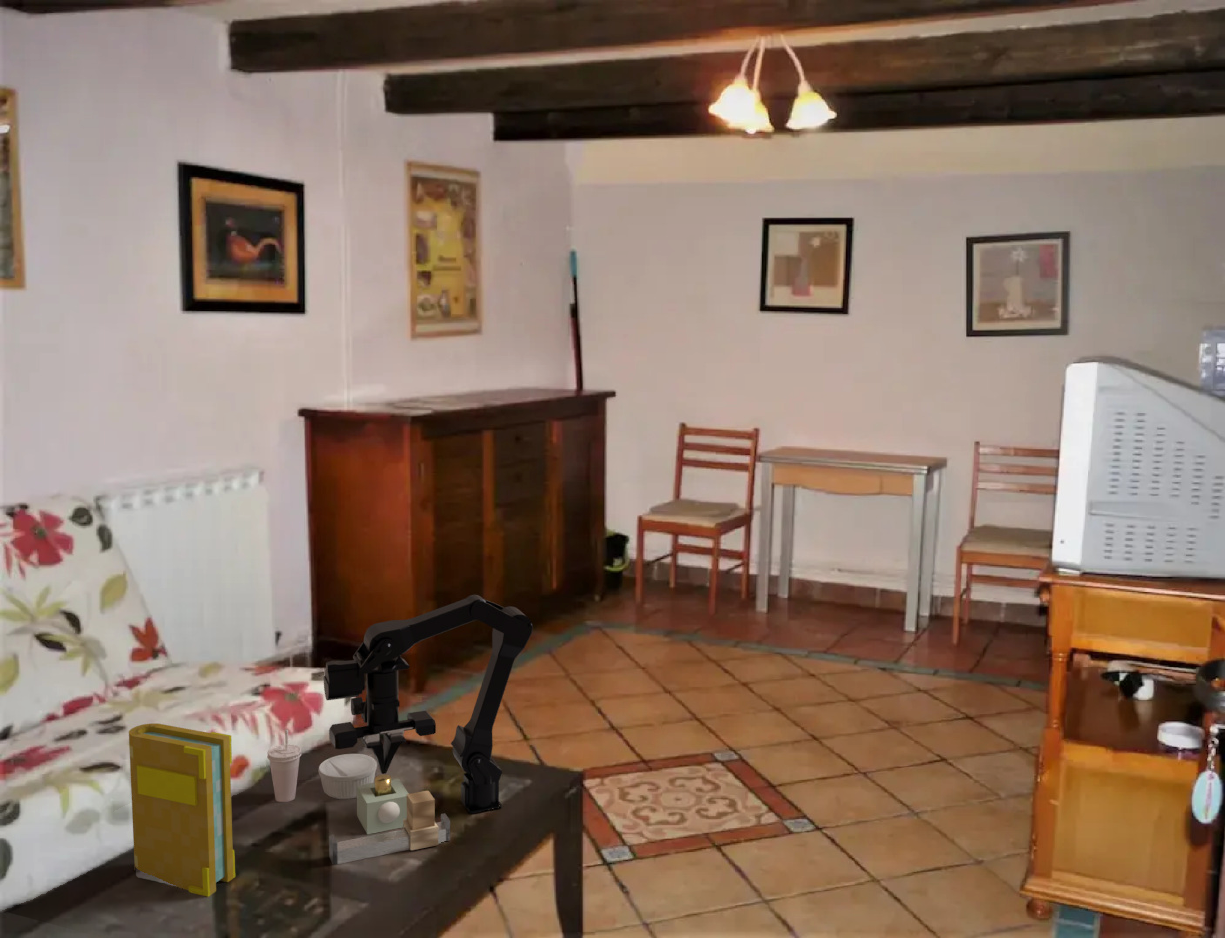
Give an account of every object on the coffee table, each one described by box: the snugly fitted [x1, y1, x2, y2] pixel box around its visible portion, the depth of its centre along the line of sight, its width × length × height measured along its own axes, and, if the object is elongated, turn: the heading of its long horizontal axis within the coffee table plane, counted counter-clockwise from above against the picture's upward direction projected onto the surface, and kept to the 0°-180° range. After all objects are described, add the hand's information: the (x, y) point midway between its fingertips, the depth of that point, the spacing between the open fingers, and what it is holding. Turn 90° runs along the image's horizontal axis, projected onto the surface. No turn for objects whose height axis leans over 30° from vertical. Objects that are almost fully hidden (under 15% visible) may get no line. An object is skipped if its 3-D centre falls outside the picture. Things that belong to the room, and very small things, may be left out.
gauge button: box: [374, 774, 392, 797], centre depth 200 cm, size 3×3×4 cm
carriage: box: [402, 790, 439, 851], centre depth 193 cm, size 5×5×8 cm
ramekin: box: [318, 753, 378, 800], centre depth 214 cm, size 11×11×5 cm
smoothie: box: [267, 728, 302, 803], centre depth 209 cm, size 6×6×14 cm
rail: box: [328, 812, 451, 866], centre depth 191 cm, size 21×3×4 cm, turn 116°
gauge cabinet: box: [356, 778, 410, 835], centre depth 201 cm, size 8×8×6 cm
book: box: [128, 723, 236, 898], centre depth 178 cm, size 17×7×25 cm, turn 71°
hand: (383, 772), depth 200 cm, fingers closed
